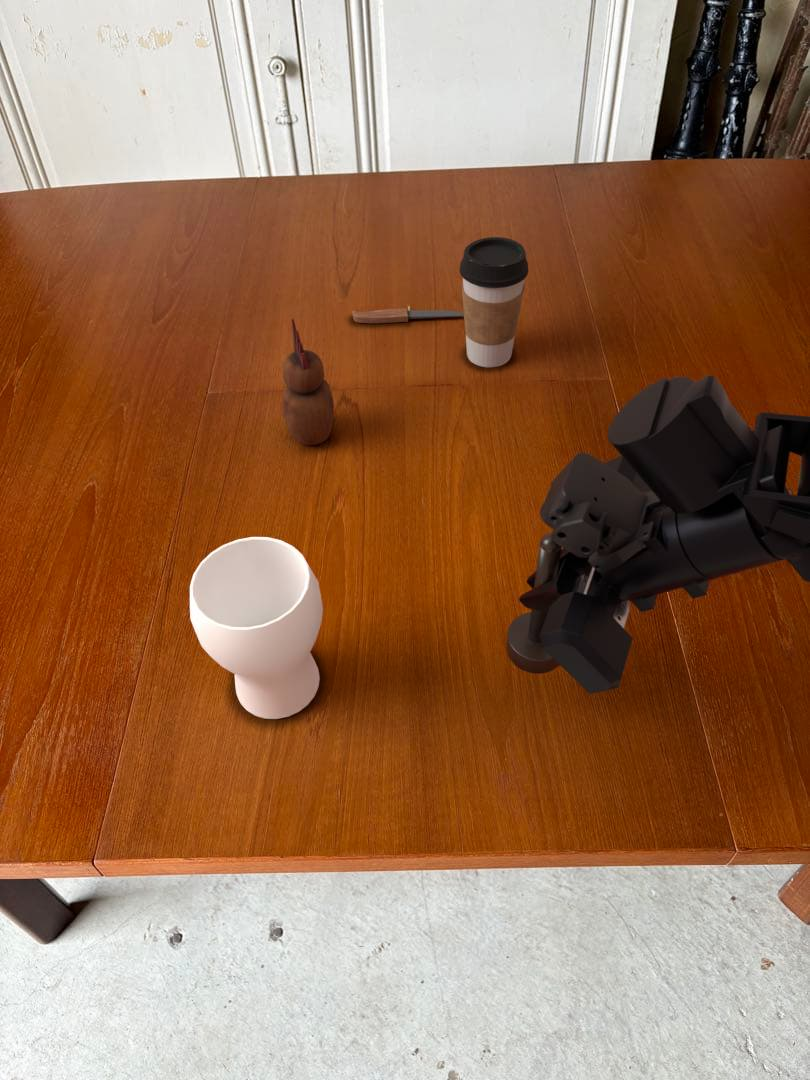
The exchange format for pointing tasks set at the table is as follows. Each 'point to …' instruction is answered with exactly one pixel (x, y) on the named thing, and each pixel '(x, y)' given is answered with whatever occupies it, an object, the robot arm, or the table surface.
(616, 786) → the table surface
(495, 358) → the coffee cup
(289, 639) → the cup
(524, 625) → the joystick
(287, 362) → the wooden figurine
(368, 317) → the knife
